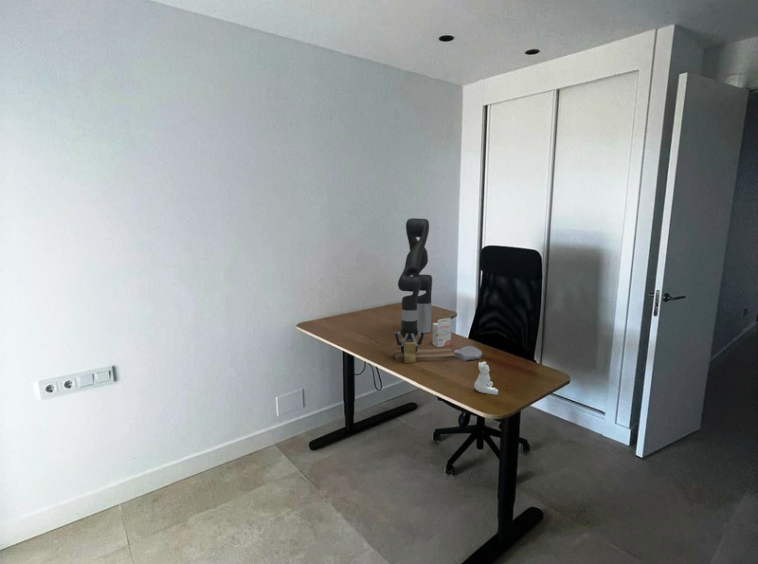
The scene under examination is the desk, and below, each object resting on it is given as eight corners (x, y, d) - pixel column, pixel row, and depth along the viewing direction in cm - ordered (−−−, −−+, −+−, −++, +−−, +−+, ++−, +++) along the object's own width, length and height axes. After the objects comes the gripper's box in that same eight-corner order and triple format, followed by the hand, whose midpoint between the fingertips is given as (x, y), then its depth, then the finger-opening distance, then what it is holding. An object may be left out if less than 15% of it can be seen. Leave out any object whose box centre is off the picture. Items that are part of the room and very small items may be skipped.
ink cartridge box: (445, 342, 226) (446, 315, 223) (450, 345, 222) (451, 317, 219) (431, 344, 222) (432, 317, 220) (437, 347, 218) (437, 319, 215)
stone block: (483, 360, 205) (468, 351, 212) (485, 352, 203) (470, 342, 211) (466, 367, 198) (451, 357, 206) (468, 358, 196) (453, 348, 204)
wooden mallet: (401, 351, 211) (401, 334, 209) (411, 351, 211) (411, 333, 209) (404, 362, 196) (404, 344, 195) (415, 362, 197) (415, 343, 195)
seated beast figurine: (499, 395, 164) (501, 366, 162) (477, 396, 164) (478, 367, 161) (491, 385, 173) (493, 357, 171) (471, 385, 173) (472, 357, 171)
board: (394, 354, 208) (394, 349, 207) (450, 353, 209) (451, 348, 209) (396, 362, 198) (396, 357, 197) (455, 360, 200) (455, 355, 199)
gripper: (423, 315, 201) (422, 349, 204) (393, 316, 200) (393, 350, 203) (425, 320, 194) (425, 355, 197) (394, 320, 193) (394, 356, 196)
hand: (408, 352), depth 200 cm, fingers closed on wooden mallet, 5 cm apart
